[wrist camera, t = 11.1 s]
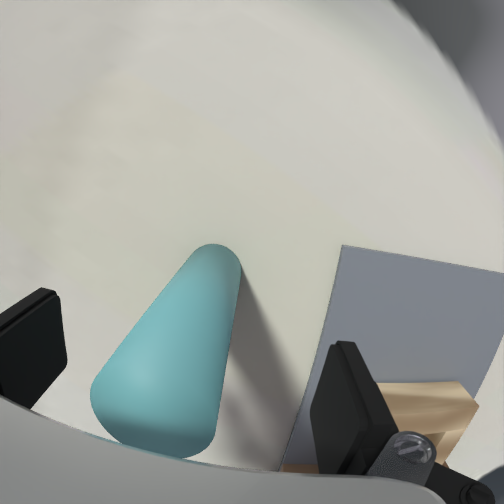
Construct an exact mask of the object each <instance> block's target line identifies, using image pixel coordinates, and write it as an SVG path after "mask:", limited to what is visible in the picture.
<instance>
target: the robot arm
mask: <svg viewBox="0 0 504 504" xmlns="http://www.w3.org/2000/svg"><path fill="white" fill-rule="evenodd" d="M66 365H67V353H66V346H65V339H64V331H63V323H62V313H61V303H60V298H59V296H57V293H56V292H55V291H53V290H50V289H46V288H42V287H41V288H39V289H38V290H36V291H34V292H33V293H31V294H30V295H28V296H27V297H25V298H24V299H22V300H20V301H19V302H17V303H16V304H14V305H13V306H11V307H10V308H8V309H7V310H5V311H4V312H2V313H1V314H0V504H495V499H494V495H493V493H492V491H491V490H490V489H489V488H488V487H487V486H485V485H484V484H482V483H480V482H478V481H476V480H474V479H471V478H469V477H467V476H465V475H462V474H460V473H458V472H456V471H454V470H452V469H449V468H447V467H445V466H443V465H441V464H439V463H437V462H435V460H436V456H437V451H436V447H435V446H434V444H433V442H432V441H431V440H430V439H428V438H427V437H426V436H424V435H422V434H420V433H417V432H414V431H401V432H399V429H398V427H397V425H396V423H395V421H394V419H393V416H392V414H391V412H390V410H389V408H388V406H387V404H386V401H385V399H384V397H383V395H382V393H381V391H380V389H379V387H378V385H377V383H376V382H375V381H374V380H373V378H372V376H371V374H370V372H369V370H368V368H367V365H366V363H365V361H364V359H363V357H362V355H361V353H360V351H359V349H358V347H357V345H356V343H355V342H351V341H339V340H338V341H337V342H336V343H335V344H331V345H330V347H329V350H328V353H327V356H326V360H325V363H324V366H323V369H322V373H321V376H320V379H319V382H318V385H317V388H316V391H315V394H314V397H313V400H312V403H311V406H310V421H311V426H312V432H313V438H314V444H315V450H316V456H317V463H318V469H319V474H309V473H289V472H274V471H263V470H253V469H244V468H236V467H228V466H221V465H215V464H208V463H202V462H197V461H192V460H186V459H181V458H177V457H172V456H168V455H163V454H159V453H155V452H151V451H147V450H143V449H139V448H135V447H132V446H128V445H125V444H121V443H118V442H115V441H111V440H108V439H105V438H102V437H99V436H96V435H93V434H90V433H87V432H84V431H82V430H79V429H76V428H73V427H71V426H68V425H66V424H63V423H61V422H58V421H56V420H53V419H51V418H48V417H46V416H44V415H41V414H39V413H37V412H34V411H32V410H30V409H31V408H32V407H33V406H34V404H35V403H36V402H37V401H38V399H39V398H40V397H41V396H42V395H43V393H44V392H45V391H46V390H47V389H48V388H49V386H50V385H51V384H52V383H53V382H54V381H55V379H56V378H57V377H58V376H59V375H60V374H61V372H62V371H63V370H64V369H65V367H66Z"/></svg>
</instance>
